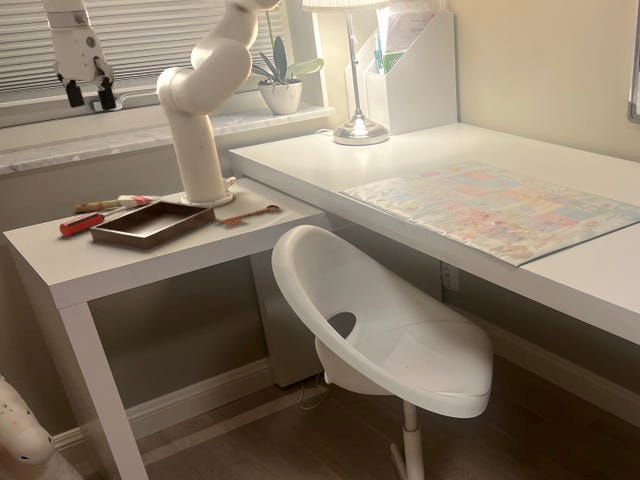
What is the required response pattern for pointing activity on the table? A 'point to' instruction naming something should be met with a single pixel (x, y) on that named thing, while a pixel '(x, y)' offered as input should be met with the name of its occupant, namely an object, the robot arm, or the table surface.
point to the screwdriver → (85, 222)
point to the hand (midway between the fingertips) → (93, 107)
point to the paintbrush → (118, 203)
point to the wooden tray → (152, 224)
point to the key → (237, 218)
